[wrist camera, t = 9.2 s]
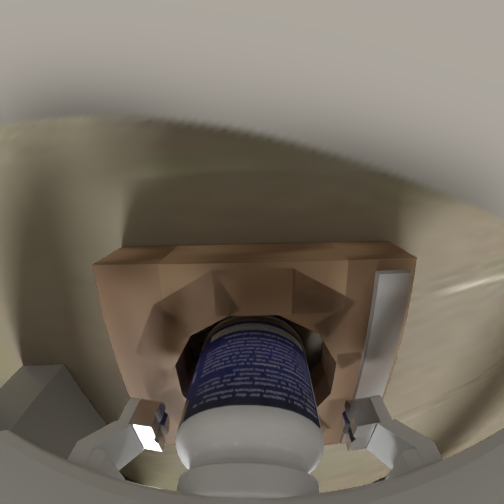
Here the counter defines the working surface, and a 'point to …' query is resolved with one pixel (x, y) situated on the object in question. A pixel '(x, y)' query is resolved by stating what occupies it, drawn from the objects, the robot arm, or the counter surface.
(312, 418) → the pill bottle
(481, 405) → the counter surface
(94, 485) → the robot arm
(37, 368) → the perfume bottle
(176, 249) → the jig
